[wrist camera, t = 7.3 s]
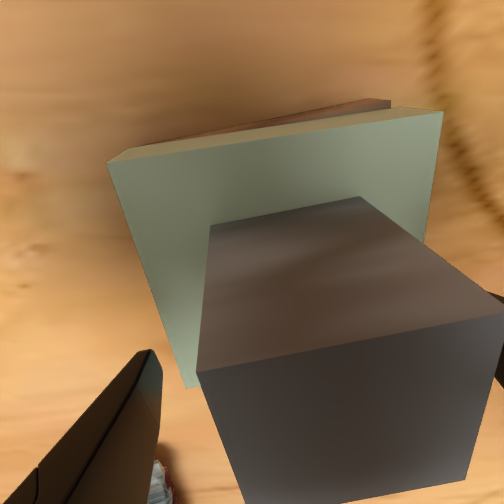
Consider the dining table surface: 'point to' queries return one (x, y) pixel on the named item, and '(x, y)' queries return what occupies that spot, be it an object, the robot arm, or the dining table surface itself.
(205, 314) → the grey block
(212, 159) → the top block
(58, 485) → the robot arm
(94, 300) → the dining table surface
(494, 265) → the dining table surface
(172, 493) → the packaged food
